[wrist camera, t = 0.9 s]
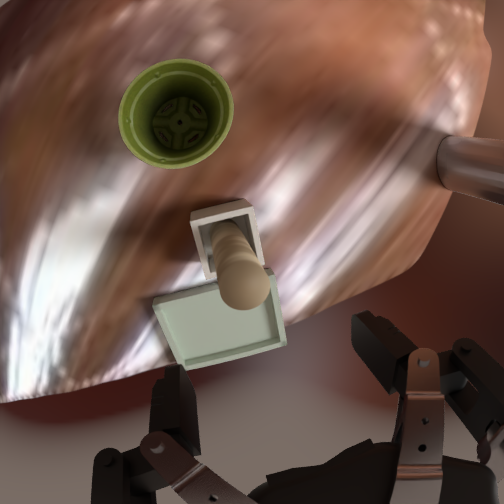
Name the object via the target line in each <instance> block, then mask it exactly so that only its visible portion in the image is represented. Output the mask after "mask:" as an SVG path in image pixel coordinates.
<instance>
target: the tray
mask: <svg viewBox="0 0 504 504" xmlns="http://www.w3.org/2000/svg"><path fill="white" fill-rule="evenodd" d="M265 272H266V273H267V275H268V277H269V280H270V291H269V294H268V296H267V298H266V299H265V301H264V302H263V303H262V304H260V305H259V306H257V307H255V308H253V309H250V310H236V309H233V308H231V307H229V306H228V305H226V304H225V303H224V301H223V300H222V298H221V296H220V291H219V286H218V282H215V283H211V284H207V285H203V286H199V287H195V288H191V289H187V290H183V291H179V292H175V293H171V294H167V295H163V296H159V297H155V298H154V300H153V304H152V307H153V309H154V312H155V314H156V316H157V319H158V321H159V323H160V326H161V328H162V330H163V333H164V335H165V337H166V339H167V342H168V344H169V346H170V348H171V350H172V352H173V354H174V357H175V359H176V361H177V363H178V364H182V365H183V367H184V369H185V371H186V370H190V369H195V368H200V367H204V366H209V365H213V364H218V363H222V362H226V361H230V360H234V359H238V358H242V357H246V356H249V355H253V354H257V353H260V352H264V351H268V350H271V349H275V348H278V347H281V346H285V345H287V341H286V335H285V329H284V323H283V318H282V312H281V306H280V300H279V295H278V289H277V284H276V278H275V274H274V272H273V271H272V269H271V268H269V269H265Z"/></svg>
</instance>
